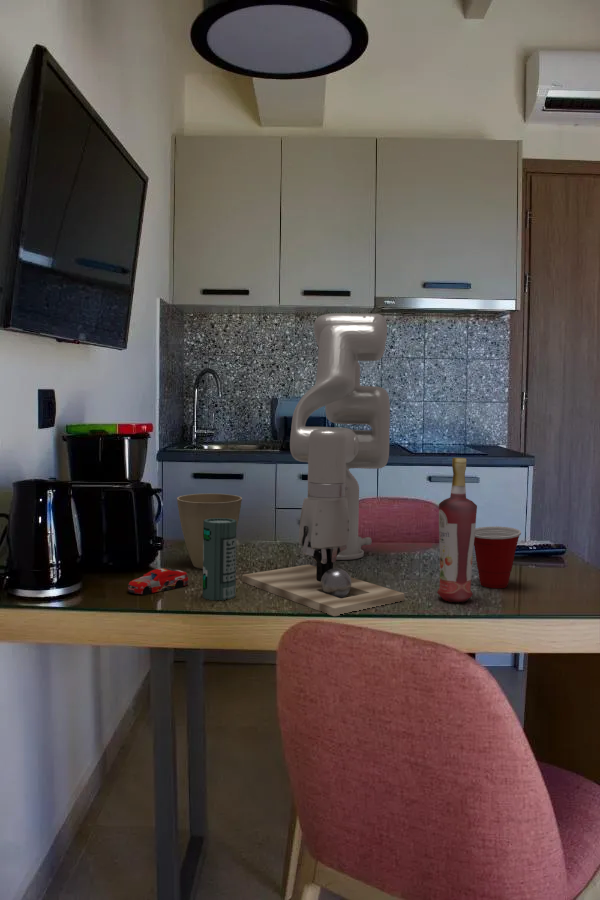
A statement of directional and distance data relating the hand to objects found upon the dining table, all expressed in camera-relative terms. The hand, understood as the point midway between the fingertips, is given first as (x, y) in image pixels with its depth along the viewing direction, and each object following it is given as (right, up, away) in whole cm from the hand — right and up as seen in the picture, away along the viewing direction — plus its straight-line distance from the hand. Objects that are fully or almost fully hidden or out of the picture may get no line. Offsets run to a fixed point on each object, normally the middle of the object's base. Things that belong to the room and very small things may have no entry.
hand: (324, 581), depth 146 cm
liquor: (+26, -3, -3) cm, 26 cm away
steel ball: (+2, 0, -4) cm, 5 cm away
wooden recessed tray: (-1, -2, +1) cm, 3 cm away
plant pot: (-26, -1, +22) cm, 34 cm away
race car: (-34, -2, +1) cm, 34 cm away
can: (-21, -2, -4) cm, 21 cm away
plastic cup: (+36, -3, +9) cm, 37 cm away
